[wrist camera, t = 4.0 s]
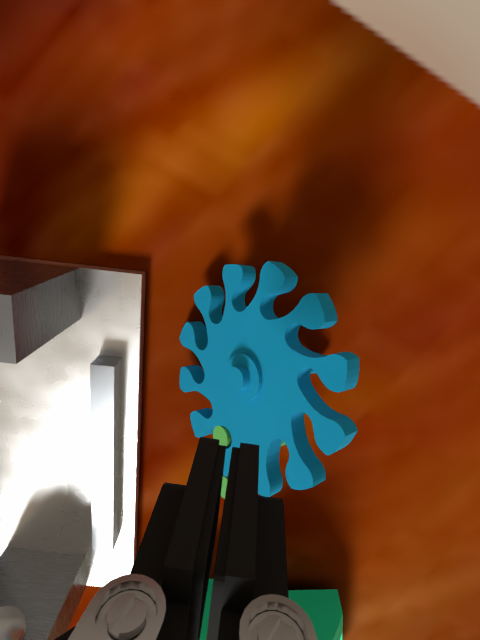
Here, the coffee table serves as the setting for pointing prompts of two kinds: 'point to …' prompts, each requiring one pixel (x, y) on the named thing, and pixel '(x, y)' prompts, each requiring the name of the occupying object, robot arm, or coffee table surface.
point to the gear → (266, 375)
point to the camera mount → (315, 603)
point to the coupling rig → (66, 436)
